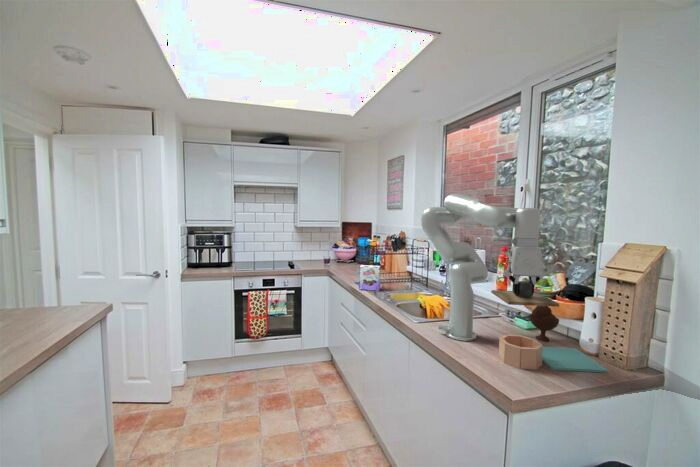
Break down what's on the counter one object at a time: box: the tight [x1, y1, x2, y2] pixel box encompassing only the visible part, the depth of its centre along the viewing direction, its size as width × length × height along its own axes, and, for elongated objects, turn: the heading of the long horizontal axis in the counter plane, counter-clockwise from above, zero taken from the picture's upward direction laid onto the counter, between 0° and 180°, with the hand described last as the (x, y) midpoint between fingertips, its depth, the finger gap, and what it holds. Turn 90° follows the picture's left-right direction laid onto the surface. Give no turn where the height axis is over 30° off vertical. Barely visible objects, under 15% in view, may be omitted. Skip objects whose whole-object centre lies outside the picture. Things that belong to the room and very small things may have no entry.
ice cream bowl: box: [529, 306, 560, 343], centre depth 136 cm, size 11×11×15 cm
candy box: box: [358, 264, 381, 292], centre depth 220 cm, size 14×6×16 cm, turn 80°
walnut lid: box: [490, 280, 560, 307], centre depth 115 cm, size 16×16×6 cm
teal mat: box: [542, 346, 609, 374], centre depth 118 cm, size 18×18×1 cm
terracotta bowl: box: [498, 334, 544, 370], centre depth 116 cm, size 13×13×7 cm
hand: (522, 294), depth 115 cm, fingers closed on walnut lid, 4 cm apart
